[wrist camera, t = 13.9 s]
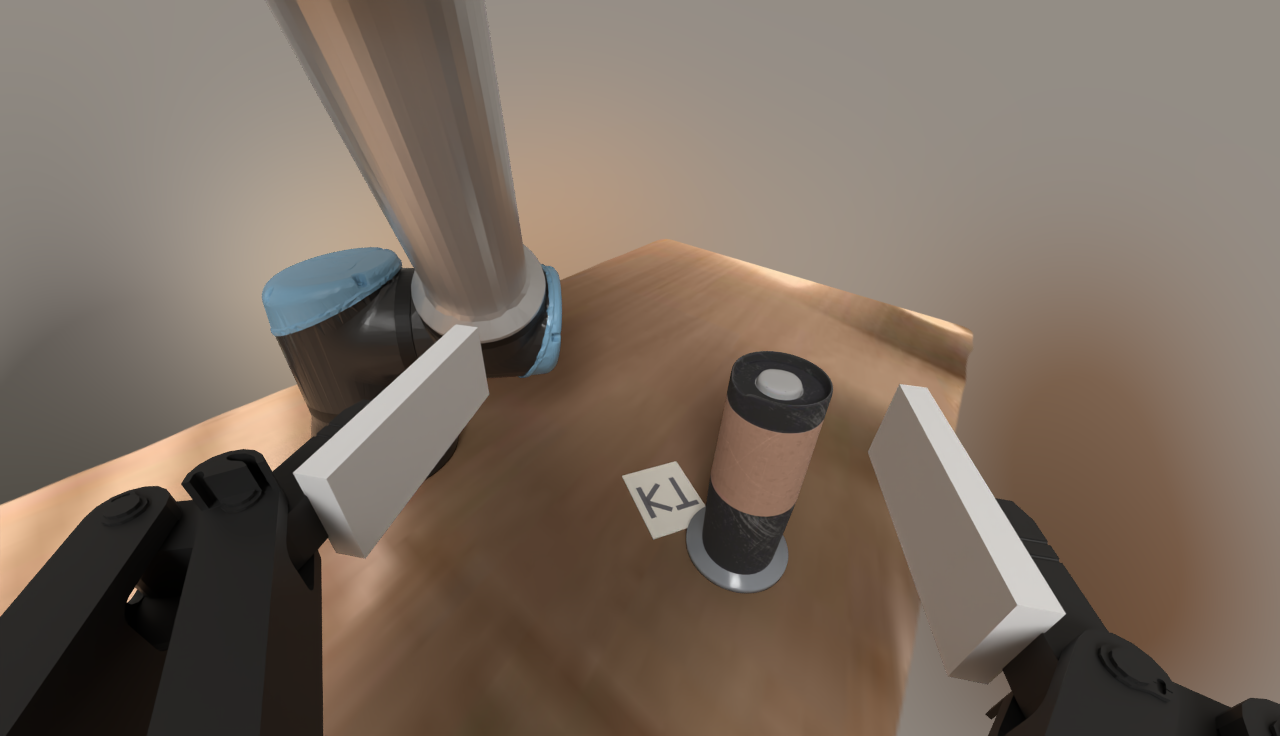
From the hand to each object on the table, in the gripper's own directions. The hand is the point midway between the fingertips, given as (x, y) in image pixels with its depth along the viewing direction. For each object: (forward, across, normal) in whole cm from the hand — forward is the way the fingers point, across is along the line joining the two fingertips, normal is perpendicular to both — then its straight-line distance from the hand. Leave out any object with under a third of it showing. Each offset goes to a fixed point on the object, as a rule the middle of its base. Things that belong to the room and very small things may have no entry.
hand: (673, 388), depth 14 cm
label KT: (+22, 0, -31) cm, 38 cm away
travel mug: (+17, +7, -30) cm, 36 cm away
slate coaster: (+17, +7, -31) cm, 36 cm away
